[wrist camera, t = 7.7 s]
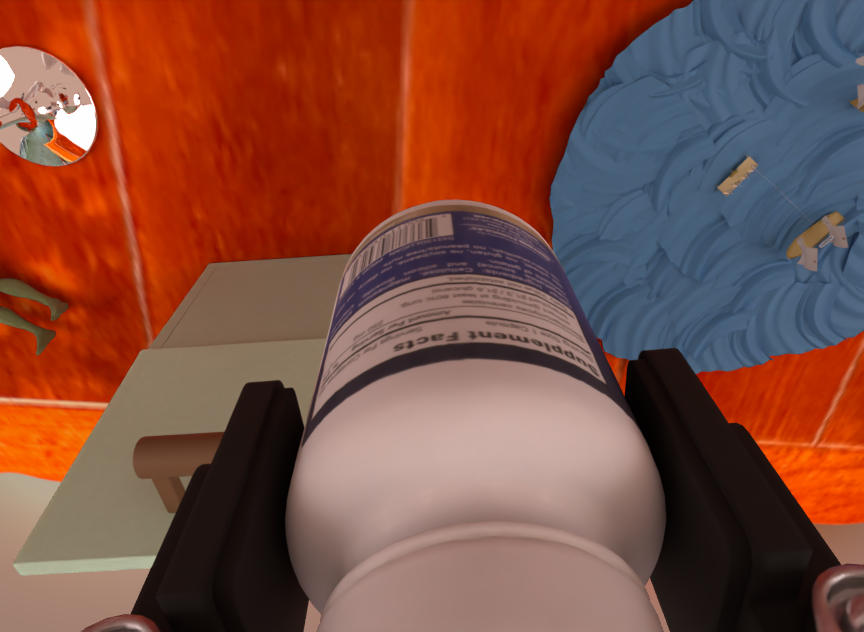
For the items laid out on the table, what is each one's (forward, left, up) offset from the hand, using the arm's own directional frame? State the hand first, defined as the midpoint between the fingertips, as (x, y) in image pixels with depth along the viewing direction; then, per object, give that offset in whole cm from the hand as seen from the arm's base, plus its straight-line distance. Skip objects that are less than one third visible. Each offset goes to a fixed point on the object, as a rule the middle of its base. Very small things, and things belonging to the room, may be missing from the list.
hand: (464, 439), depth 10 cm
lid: (-10, -12, -14) cm, 21 cm away
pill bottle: (0, 0, -5) cm, 5 cm away
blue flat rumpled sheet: (+22, -9, -34) cm, 41 cm away
